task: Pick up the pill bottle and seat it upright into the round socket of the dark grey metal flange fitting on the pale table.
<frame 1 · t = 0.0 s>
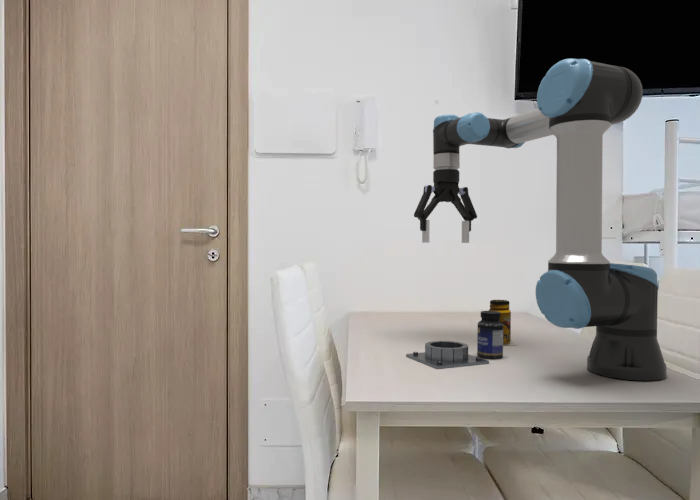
hand: (445, 242, 152), 28 cm above the table, fingers open, 13 cm apart
fitting: (446, 359, 124), on the table
pill bottle: (490, 357, 128), on the table
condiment: (496, 344, 146), on the table
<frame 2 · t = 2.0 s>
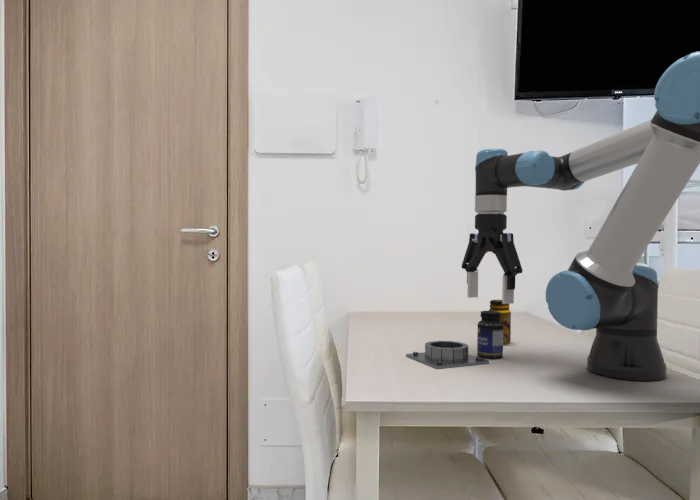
hand: (489, 300, 128), 14 cm above the table, fingers open, 13 cm apart
nothing on the table moved.
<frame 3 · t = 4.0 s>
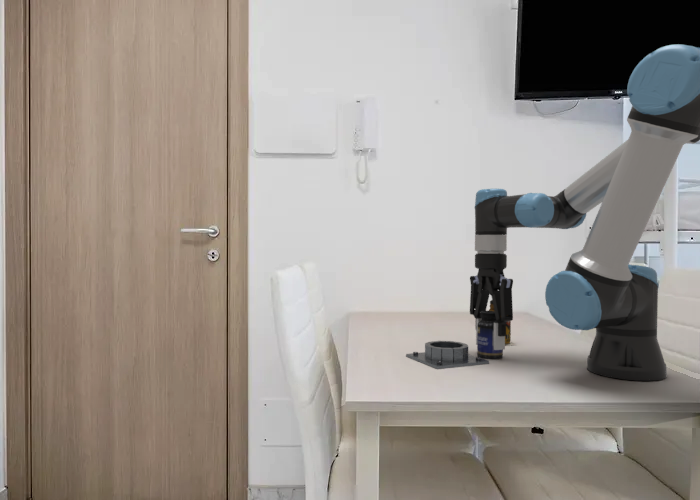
hand: (490, 346, 128), 2 cm above the table, fingers closed on pill bottle, 6 cm apart
pill bottle: (490, 357, 128), on the table, touching gripper
everything else where it was.
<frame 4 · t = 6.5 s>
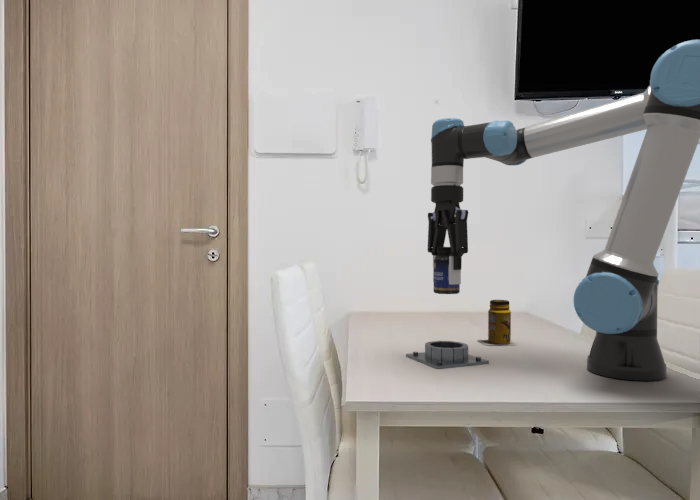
hand: (446, 283, 124), 18 cm above the table, fingers closed on pill bottle, 6 cm apart
pill bottle: (446, 294, 124), point 16 cm above the table, touching gripper
everything else where it was.
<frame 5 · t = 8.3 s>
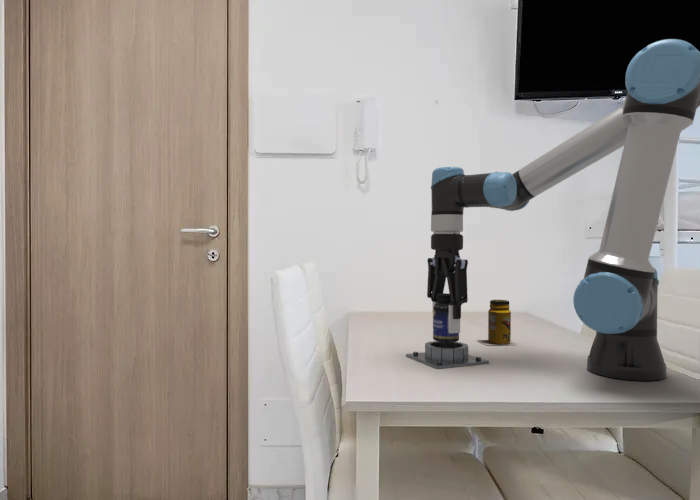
hand: (446, 330, 124), 7 cm above the table, fingers closed on pill bottle, 6 cm apart
pill bottle: (446, 341, 124), point 4 cm above the table, touching gripper
everything else where it was.
when the fingers open (5 cm above the table, at t = 9.4 s): pill bottle drops 2 cm, resting on fitting.
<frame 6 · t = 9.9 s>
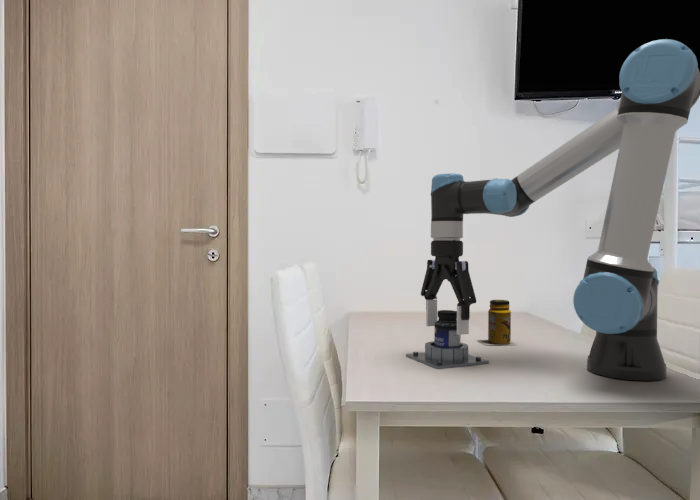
hand: (446, 330, 124), 7 cm above the table, fingers open, 12 cm apart
pill bottle: (447, 358, 123), resting on fitting
everything else where it was.
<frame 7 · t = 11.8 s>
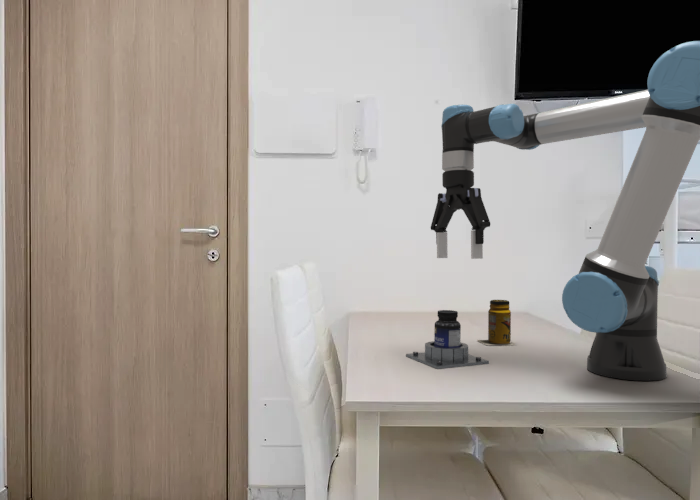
hand: (458, 258, 127), 24 cm above the table, fingers open, 13 cm apart
nothing on the table moved.
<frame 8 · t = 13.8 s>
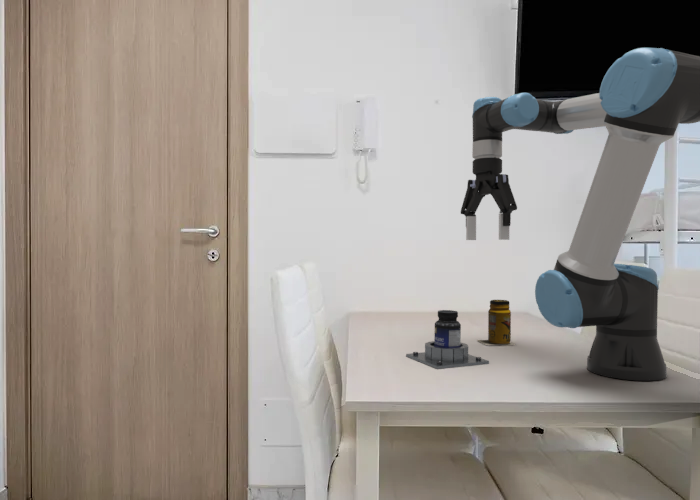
hand: (486, 240, 137), 29 cm above the table, fingers open, 13 cm apart
nothing on the table moved.
at the end: pill bottle 0.4 cm off-centre on the fitting, point 0.4 cm above the fitting's base; pill bottle tilted 0°; the gripper is holding nothing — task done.
